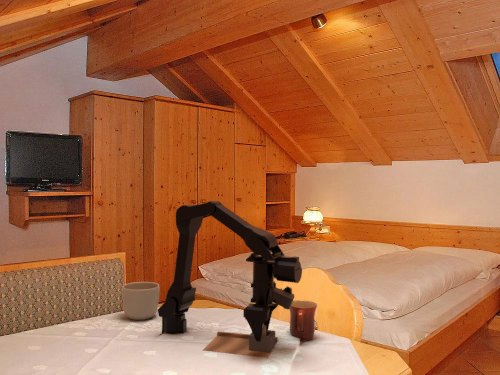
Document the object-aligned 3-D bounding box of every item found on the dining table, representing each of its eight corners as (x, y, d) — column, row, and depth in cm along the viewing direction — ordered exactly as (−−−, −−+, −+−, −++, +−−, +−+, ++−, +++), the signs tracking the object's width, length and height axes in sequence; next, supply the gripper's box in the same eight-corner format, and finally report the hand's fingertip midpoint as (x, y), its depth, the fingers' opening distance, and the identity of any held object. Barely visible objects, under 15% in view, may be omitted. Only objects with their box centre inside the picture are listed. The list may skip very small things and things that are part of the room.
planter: (122, 313, 158) (122, 282, 158) (158, 311, 161) (158, 281, 161) (121, 324, 146) (121, 290, 146) (159, 321, 149) (160, 289, 149)
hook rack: (202, 354, 120) (202, 327, 120) (217, 338, 133) (218, 314, 133) (267, 362, 116) (268, 334, 116) (277, 345, 129) (277, 320, 128)
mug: (289, 332, 140) (289, 299, 140) (317, 334, 138) (318, 301, 138) (284, 345, 128) (284, 309, 128) (315, 348, 127) (315, 311, 126)
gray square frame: (248, 350, 121) (248, 335, 121) (254, 342, 127) (254, 328, 127) (270, 352, 119) (270, 337, 119) (275, 345, 125) (275, 330, 125)
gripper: (286, 288, 112) (285, 351, 112) (297, 274, 130) (296, 328, 130) (243, 285, 115) (242, 346, 115) (260, 271, 133) (259, 324, 133)
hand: (262, 335), depth 123 cm, fingers open, 9 cm apart
